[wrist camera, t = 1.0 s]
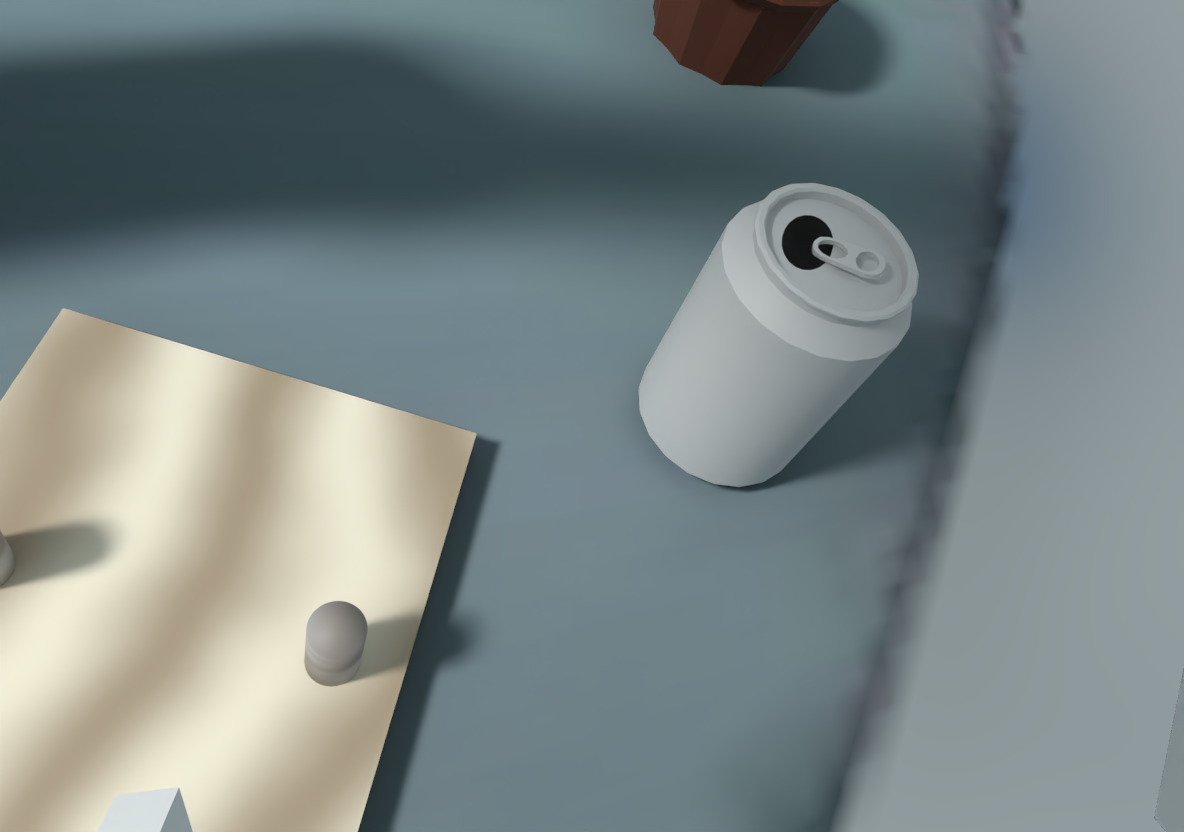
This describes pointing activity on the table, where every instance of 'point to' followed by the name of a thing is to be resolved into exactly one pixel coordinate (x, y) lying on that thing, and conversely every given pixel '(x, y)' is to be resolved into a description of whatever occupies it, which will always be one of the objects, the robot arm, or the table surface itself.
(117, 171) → the table surface
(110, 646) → the pin base
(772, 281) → the can
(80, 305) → the table surface
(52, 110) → the table surface
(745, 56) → the muffin
